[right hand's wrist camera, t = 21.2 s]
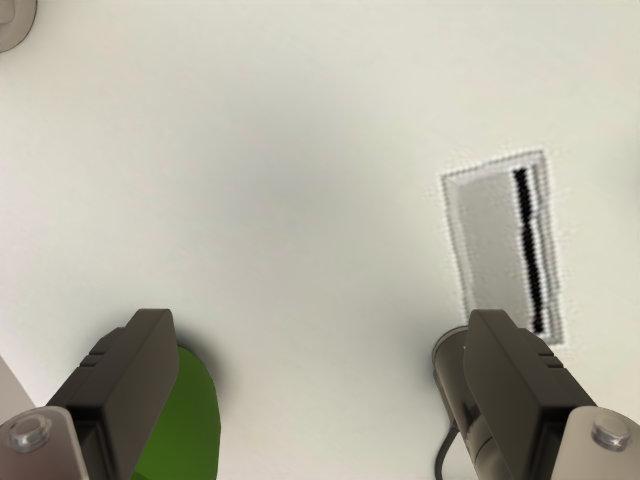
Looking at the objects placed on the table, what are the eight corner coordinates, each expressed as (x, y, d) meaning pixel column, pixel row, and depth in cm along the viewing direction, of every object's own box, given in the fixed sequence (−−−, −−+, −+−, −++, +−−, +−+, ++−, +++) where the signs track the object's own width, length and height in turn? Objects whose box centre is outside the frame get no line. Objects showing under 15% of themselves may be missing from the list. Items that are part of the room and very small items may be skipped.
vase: (156, 439, 64) (67, 639, 42) (72, 343, 58) (-88, 518, 35) (268, 391, 61) (237, 580, 38) (191, 284, 55) (100, 434, 32)
